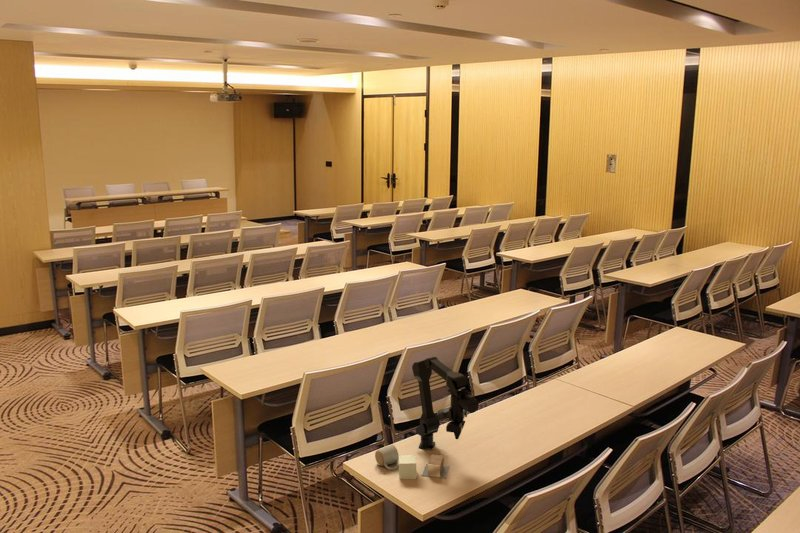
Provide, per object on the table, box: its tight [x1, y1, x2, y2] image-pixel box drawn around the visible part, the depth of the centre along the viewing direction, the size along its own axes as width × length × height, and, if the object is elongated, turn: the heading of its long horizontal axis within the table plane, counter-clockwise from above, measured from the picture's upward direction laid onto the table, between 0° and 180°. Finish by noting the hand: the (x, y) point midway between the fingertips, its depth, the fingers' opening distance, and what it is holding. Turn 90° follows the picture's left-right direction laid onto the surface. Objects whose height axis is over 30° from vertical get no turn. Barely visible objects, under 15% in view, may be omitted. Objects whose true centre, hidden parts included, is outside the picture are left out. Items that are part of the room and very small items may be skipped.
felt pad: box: [421, 463, 450, 480], centre depth 286 cm, size 10×10×1 cm
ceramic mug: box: [374, 444, 399, 471], centre depth 291 cm, size 11×8×8 cm
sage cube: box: [398, 454, 417, 480], centre depth 283 cm, size 7×7×7 cm
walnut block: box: [427, 453, 445, 478], centre depth 286 cm, size 5×5×9 cm
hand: (456, 438), depth 289 cm, fingers closed
